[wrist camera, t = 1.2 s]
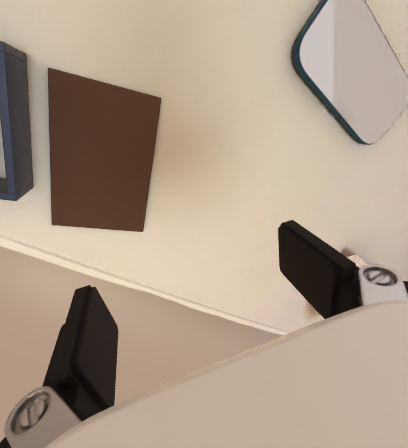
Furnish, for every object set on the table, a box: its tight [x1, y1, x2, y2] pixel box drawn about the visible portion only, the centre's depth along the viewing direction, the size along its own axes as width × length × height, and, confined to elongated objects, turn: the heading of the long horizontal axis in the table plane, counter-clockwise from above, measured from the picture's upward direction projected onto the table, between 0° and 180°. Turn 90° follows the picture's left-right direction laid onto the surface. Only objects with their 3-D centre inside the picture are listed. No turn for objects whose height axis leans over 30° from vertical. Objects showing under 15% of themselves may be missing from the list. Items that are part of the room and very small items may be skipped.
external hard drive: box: [293, 0, 408, 145], centre depth 37 cm, size 24×12×2 cm, turn 55°
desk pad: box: [48, 68, 161, 232], centre depth 33 cm, size 20×13×1 cm, turn 167°
